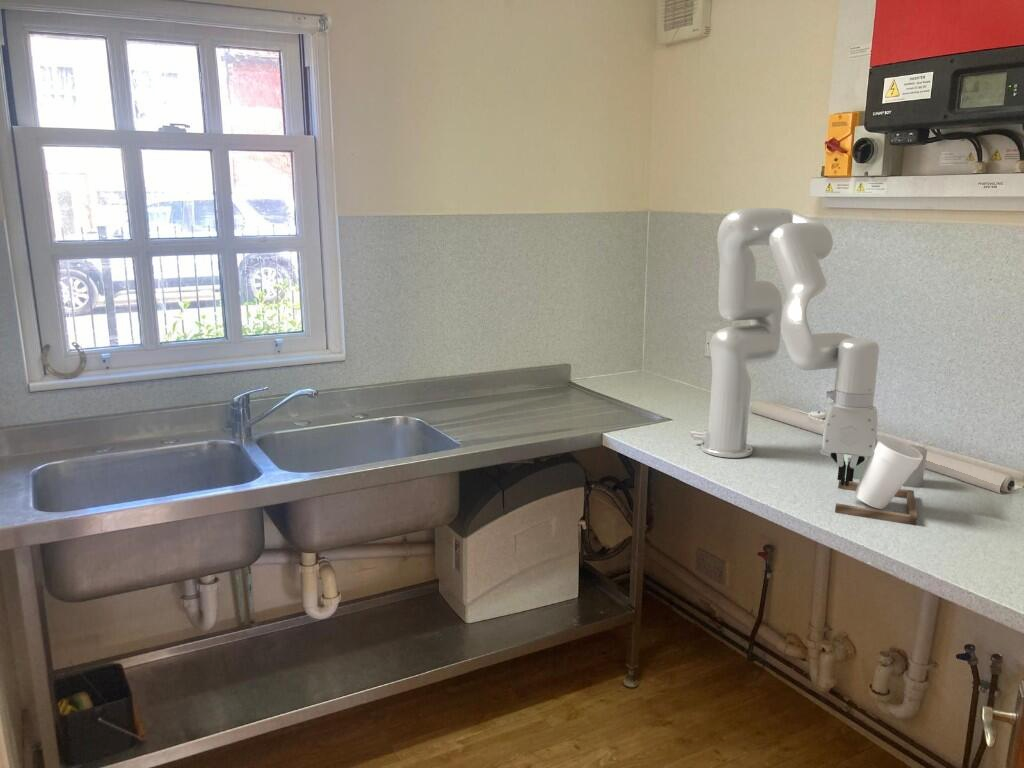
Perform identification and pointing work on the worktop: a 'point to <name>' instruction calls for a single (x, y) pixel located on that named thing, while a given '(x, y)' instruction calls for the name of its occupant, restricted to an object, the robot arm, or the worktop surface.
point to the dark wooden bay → (880, 514)
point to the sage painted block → (858, 469)
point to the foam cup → (886, 471)
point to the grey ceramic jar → (917, 470)
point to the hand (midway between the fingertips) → (844, 483)
